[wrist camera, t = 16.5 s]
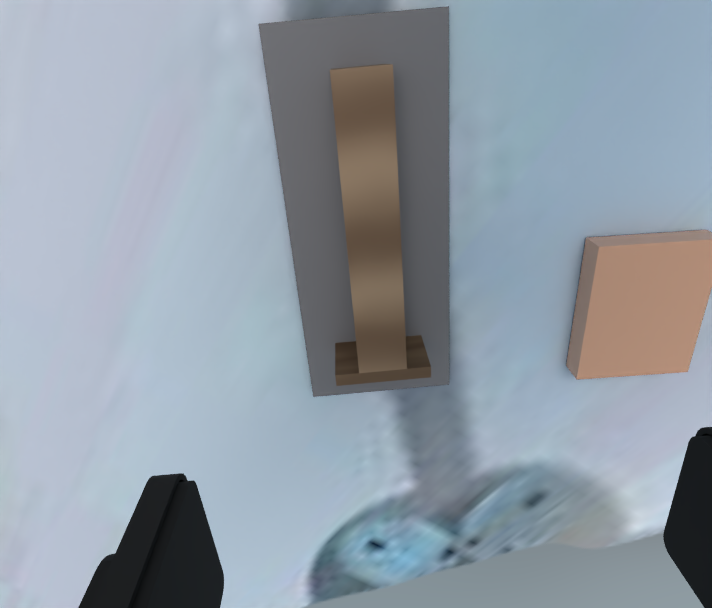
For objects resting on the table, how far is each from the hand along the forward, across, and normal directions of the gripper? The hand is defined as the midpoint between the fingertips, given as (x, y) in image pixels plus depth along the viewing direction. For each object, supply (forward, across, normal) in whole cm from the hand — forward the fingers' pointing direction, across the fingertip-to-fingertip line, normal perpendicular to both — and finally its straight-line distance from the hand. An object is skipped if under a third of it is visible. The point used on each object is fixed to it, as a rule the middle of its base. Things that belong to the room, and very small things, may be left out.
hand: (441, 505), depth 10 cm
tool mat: (+24, 0, +2) cm, 24 cm away
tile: (+23, -18, +4) cm, 30 cm away
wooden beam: (+23, 0, +2) cm, 23 cm away
